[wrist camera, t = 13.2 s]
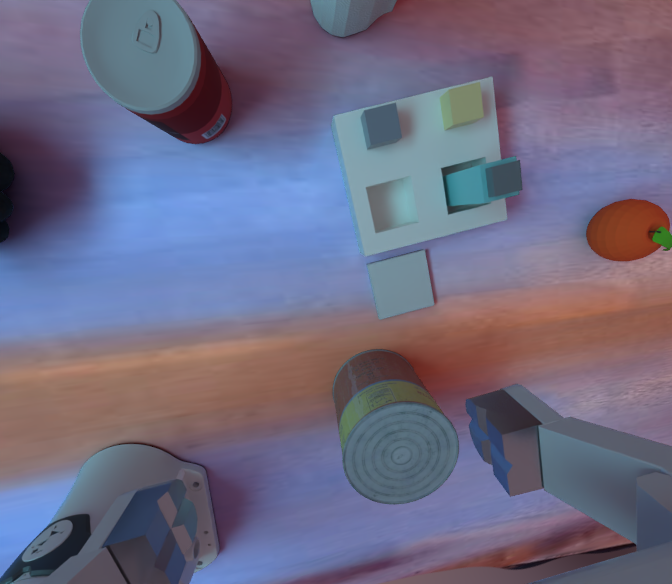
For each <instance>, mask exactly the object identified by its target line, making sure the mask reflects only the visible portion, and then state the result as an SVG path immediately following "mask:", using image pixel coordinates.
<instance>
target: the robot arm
mask: <svg viewBox="0 0 672 584" xmlns="http://www.w3.org/2000/svg"><path fill="white" fill-rule="evenodd" d="M466 411H467V413H468V414H469V416H470V417H471V418H472V420H471V422H470V424H469V429H470V434H471V437H472V440H473V443H474V446H475V447H476V449H477V451H478V453H479V455H480V456H481V457H482V459H483V460H484V461H485V462H487V463H489V464H491V465H493V472H494V475H495V477H496V478H497V480H498V481H499V482H500V484H501V485H502V486H503V488H504V489H505V490H506V492H507V493H508V494H509V496H510V497H511V496H515V495H519V494H523V493H527V492H531V491H535V490H539V489H543V488H544V490H545V491H547V492H548V493H550V494H552V495H553V496H555V497H557V498H559V499H560V500H562V501H564V502H565V503H567V504H569V505H571V506H572V507H574V508H576V509H577V510H579V511H581V512H582V513H584V514H586V515H588V516H589V517H591V518H593V519H594V520H596V521H598V522H600V523H601V524H603V525H605V526H606V527H608V528H610V529H611V530H613V531H615V532H617V533H618V534H620V535H622V536H623V537H625V538H627V539H629V540H630V541H632V542H634V543H635V544H637V552H633V553H630V554H627V555H623V556H620V557H616V558H613V559H609V560H606V561H603V562H599V563H596V564H593V565H589V566H586V567H582V568H579V569H576V570H572V571H569V572H565V573H562V574H559V575H555V576H552V577H548V578H545V579H542V580H538V581H535V582H531V583H528V584H672V446H669V445H665V444H662V443H658V442H655V441H651V440H648V439H645V438H641V437H638V436H634V435H631V434H627V433H624V432H620V431H617V430H614V429H610V428H607V427H603V426H600V425H596V424H593V423H589V422H586V421H583V420H579V419H576V418H572V417H568V418H563V417H562V416H561V415H559V414H558V413H557V412H556V411H554V410H553V409H552V408H550V407H549V406H548V405H547V404H545V403H544V402H543V401H541V400H540V399H539V398H538V397H536V396H535V395H534V394H532V393H531V392H530V391H528V390H527V389H526V388H525V387H523V386H522V385H519V384H515V385H512V386H509V387H505V388H502V389H500V390H497V391H494V392H490V393H487V394H483V395H480V396H476V397H472V398H469V399H466ZM196 482H198V483H196ZM218 553H219V542H218V536H217V530H216V525H215V519H214V513H213V508H212V502H211V496H210V491H209V485H208V479H207V474H206V470H205V469H204V468H203V467H202V466H199V465H196V464H192V463H188V462H183V461H180V460H178V459H176V458H175V457H173V456H171V455H170V454H168V453H166V452H164V451H162V450H160V449H157V448H154V447H151V446H146V445H140V444H123V445H117V446H113V447H109V448H107V449H104V450H102V451H100V452H98V453H96V454H95V455H93V456H92V457H91V458H90V459H89V460H88V461H87V462H86V463H85V464H84V465H83V467H82V468H81V470H80V472H79V474H78V476H77V479H76V481H75V483H74V484H73V486H72V488H71V490H70V492H69V493H68V495H67V497H66V498H65V500H64V502H63V503H62V505H61V506H60V508H59V509H58V511H57V512H56V514H55V515H54V517H53V518H52V520H51V521H50V523H49V524H48V526H47V527H46V528H45V529H44V530H43V531H42V532H41V533H40V534H39V535H38V536H37V537H36V538H35V539H34V540H33V541H32V542H31V543H30V544H29V545H28V546H27V547H26V548H25V550H24V551H23V552H22V553H21V554H20V555H19V556H18V557H17V559H16V560H15V561H14V562H13V563H12V565H11V566H10V567H9V568H8V569H7V571H6V572H5V573H4V574H3V575H2V577H1V578H0V584H189V583H190V581H191V579H192V576H193V574H194V573H195V572H197V571H199V570H201V569H203V568H205V567H206V566H208V565H209V564H210V563H211V562H212V561H214V560H215V559H216V557H217V555H218Z"/></svg>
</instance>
